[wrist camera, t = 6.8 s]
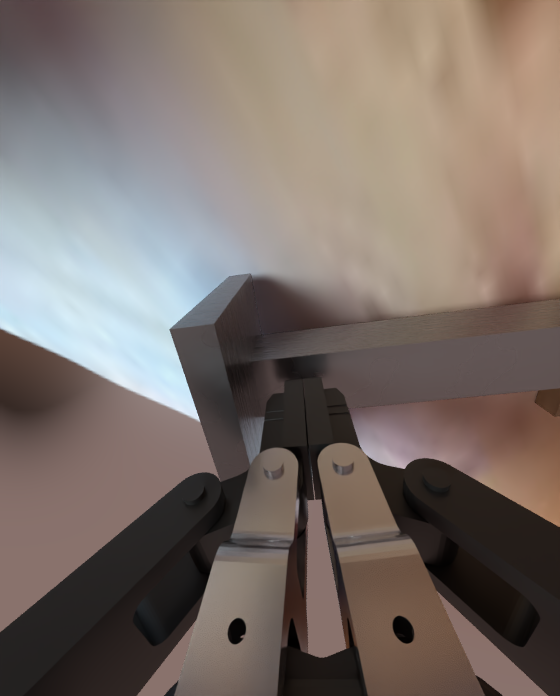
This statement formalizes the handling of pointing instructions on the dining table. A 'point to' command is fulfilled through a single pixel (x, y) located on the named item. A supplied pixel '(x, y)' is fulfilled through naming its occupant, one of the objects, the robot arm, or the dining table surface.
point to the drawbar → (353, 361)
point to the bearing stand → (549, 400)
